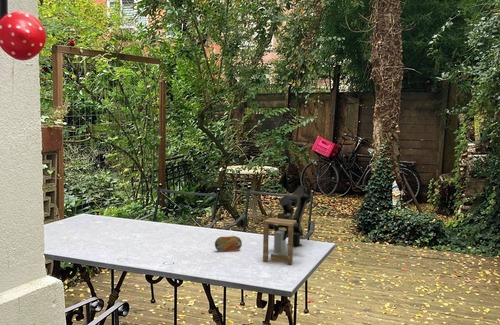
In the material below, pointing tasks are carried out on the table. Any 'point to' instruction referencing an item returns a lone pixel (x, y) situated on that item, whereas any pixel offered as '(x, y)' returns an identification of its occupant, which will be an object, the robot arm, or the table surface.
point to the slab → (279, 241)
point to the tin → (228, 244)
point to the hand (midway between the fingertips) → (279, 239)
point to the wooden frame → (290, 240)
